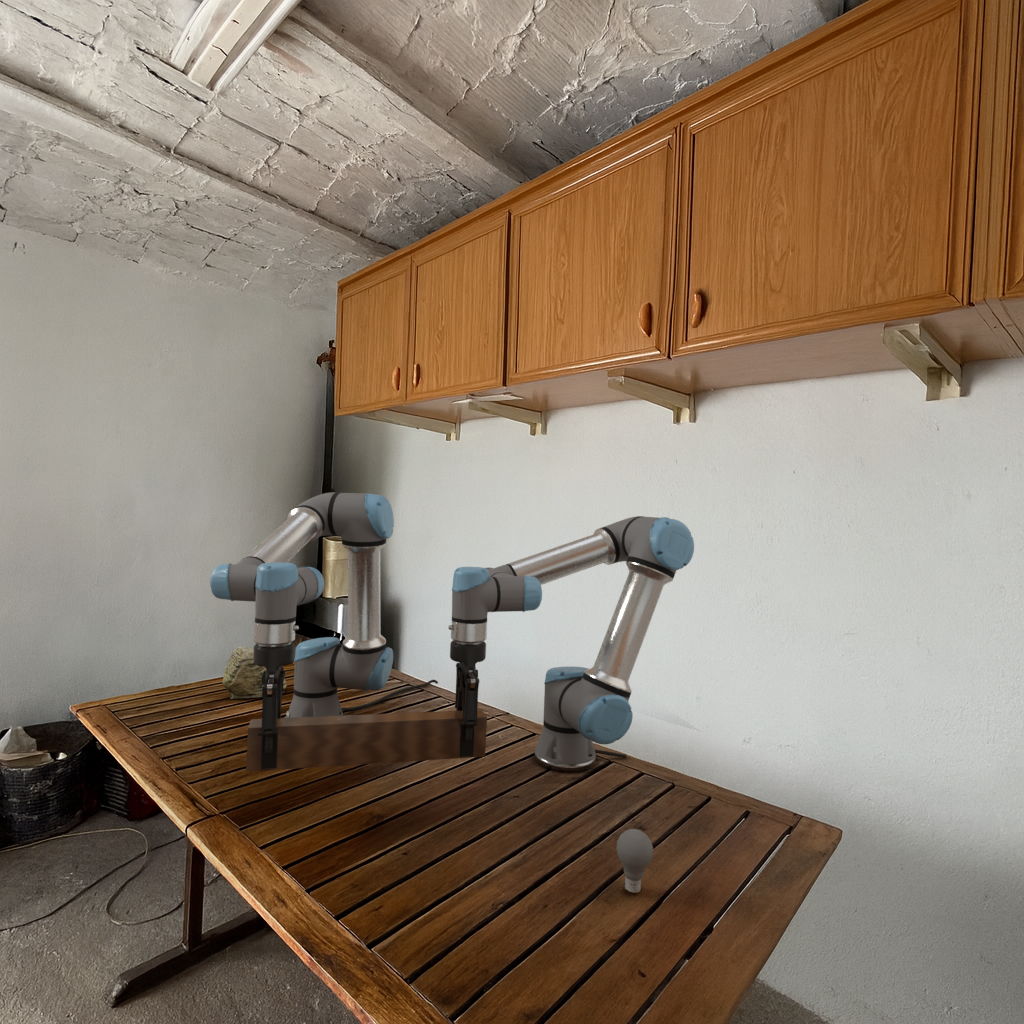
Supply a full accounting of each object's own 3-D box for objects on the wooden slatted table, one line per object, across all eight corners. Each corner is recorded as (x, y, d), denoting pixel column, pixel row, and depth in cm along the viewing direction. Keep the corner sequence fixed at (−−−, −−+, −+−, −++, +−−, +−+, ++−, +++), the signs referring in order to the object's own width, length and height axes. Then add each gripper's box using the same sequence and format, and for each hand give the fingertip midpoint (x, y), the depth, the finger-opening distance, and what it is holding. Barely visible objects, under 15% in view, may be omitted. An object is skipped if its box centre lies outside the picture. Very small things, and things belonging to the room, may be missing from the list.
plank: (246, 771, 120) (247, 728, 120) (249, 761, 125) (251, 719, 124) (485, 756, 132) (487, 717, 132) (480, 747, 137) (482, 709, 137)
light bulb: (610, 879, 108) (613, 822, 108) (644, 879, 109) (647, 822, 109) (619, 902, 102) (622, 840, 102) (655, 901, 103) (658, 840, 103)
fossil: (218, 695, 195) (220, 647, 195) (278, 685, 208) (279, 640, 207) (228, 703, 189) (230, 653, 188) (289, 692, 201) (290, 645, 201)
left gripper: (291, 653, 115) (286, 780, 116) (298, 632, 132) (294, 743, 133) (247, 654, 113) (242, 783, 114) (260, 633, 131) (256, 745, 131)
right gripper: (444, 632, 141) (440, 735, 141) (457, 651, 124) (453, 769, 124) (477, 631, 143) (473, 734, 143) (495, 650, 125) (490, 767, 126)
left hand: (270, 761), depth 123 cm, fingers closed on plank, 5 cm apart
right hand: (464, 750), depth 134 cm, fingers closed on plank, 5 cm apart
